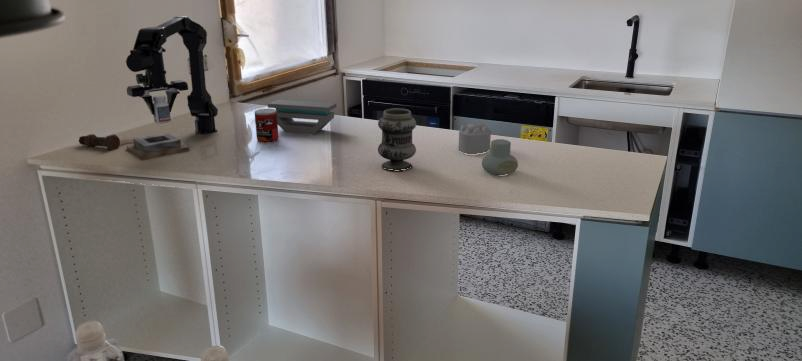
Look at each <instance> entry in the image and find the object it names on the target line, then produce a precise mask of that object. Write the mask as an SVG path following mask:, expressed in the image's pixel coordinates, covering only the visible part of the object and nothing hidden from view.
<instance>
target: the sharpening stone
mask: <svg viewBox="0 0 802 361" xmlns="http://www.w3.org/2000/svg"><path fill="white" fill-rule="evenodd" d="M336 108H337V103H336V102H335V103H334V102H323V101H321V102H320V101H306V100H304V101H303V100H291V99H289V100H288V99H276V100H273V101H271V102H269V103H267V109H275V110H276V111H277V122H278V127H279V128H280V129H282V131H284V133H289V134H299V135H310V134H312V135H311V136H313V135H315V134H316V133H318V132H320V131H322V130H323V129H324V128H325V127H326V126H327V125H328V124H329V123H330V122H331V121H332V120H333V119H334V118H335V111H332V110H334V109H336ZM295 119H299V120H295ZM300 119H303V120H304V121H303V120H301V121H300ZM305 120H312V121H305ZM313 120H314V121H315V122H314V121H313ZM316 120H317V122H316Z"/></svg>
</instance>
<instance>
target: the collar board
mask: <svg viewBox="0 0 802 361" xmlns="http://www.w3.org/2000/svg"><path fill="white" fill-rule="evenodd" d="M132 140H133V144H129V145H126V149H127V150H128V151H129V152H131V153H132V154H134V155H135V156H136V157H138V158H139V159H141V160H145V159H146V160H147V159H151V158H156V157H162V156H166V155H173V154H177V153H183V152H188V151H190V146H188V145H186V144H185V143H183V142H181V139H179V138H178V137H176V136H174V135H172V134H171V133H168V132H167V133H161V134H154V135H149V136H142V137H136V138H132Z"/></svg>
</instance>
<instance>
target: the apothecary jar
mask: <svg viewBox="0 0 802 361" xmlns="http://www.w3.org/2000/svg"><path fill="white" fill-rule="evenodd" d="M377 126H378V129H380V130H381V142H380V144H379V145H378V147H377V152H378V155H380V156H381V157H382V158H383V159H386V160H387V161H385V162H383V163H382V164H381V166H382V167H383V168H386V169H393V170H401V169H407V168H410V167H412V166H413V164H412V163H410V162H409V161H407V160H408V159H409V160H410V159H411V158H412V157H414V155H415V154H416V153H417V147H416V145H415V144H414V143H413V131H414V129H415V128H416V127H417V121H416V119H415V118H414V117H412V112H411V110H409V109H407V108H397V107H394V108H388V109H387V108H386V109H385V110H383V115H382V116H381V117H380V119H379V120H378V121H377ZM382 167H381V168H382ZM383 168H382V169H383ZM412 168H413V167H412Z"/></svg>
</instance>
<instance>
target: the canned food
mask: <svg viewBox="0 0 802 361" xmlns="http://www.w3.org/2000/svg"><path fill="white" fill-rule="evenodd" d="M254 122H255V132H256V133H255V135H256V141H257V142H258V143H261V142H262V144H268V143H267V142H271V143H275V142H278V140H279V125H278V122H277V111H276V108H261V109H257V110H256V109H255V111H254ZM274 141H275V142H274ZM263 142H264V143H263ZM265 142H266V143H265Z"/></svg>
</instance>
